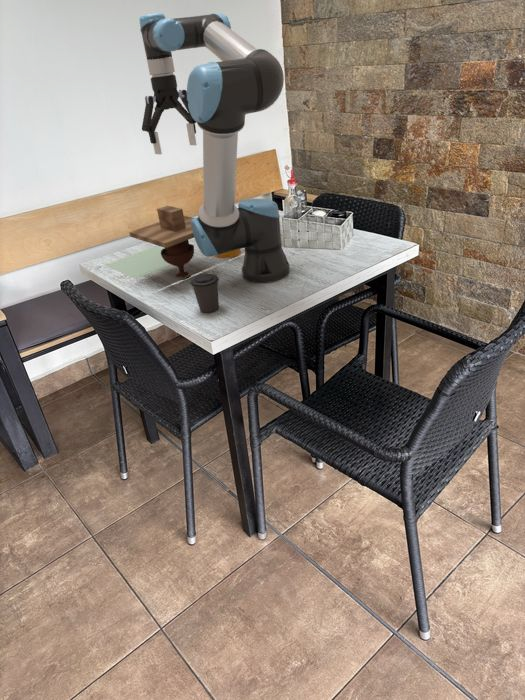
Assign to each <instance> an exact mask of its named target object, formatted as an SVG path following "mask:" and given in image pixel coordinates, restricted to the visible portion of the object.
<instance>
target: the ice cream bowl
mask: <svg viewBox="0 0 525 700" xmlns="http://www.w3.org/2000/svg"><path fill="white" fill-rule="evenodd" d="M194 254H195V245H193V244H191V243H190V242H189V240H186V241H183V242H181V243H178V244H175V245H173V246H170V247H167V248H164V247H163V249H162V250H161V256H162V258H163V259H164V260H165V261H166V262H167V263H169V264H171V265H170V266H174V267H177V268H178V272H177V274H175V277H177V278H181V279H180V281H184V280H187V279H189V278H191V277H192V275H190V272H188V271H185V265H187V264H189V262H190V261H191V260H192V259H193V257H194Z"/></svg>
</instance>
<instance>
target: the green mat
mask: <svg viewBox="0 0 525 700" xmlns="http://www.w3.org/2000/svg"><path fill="white" fill-rule="evenodd" d="M162 249H164V247H160V246H157V245H154V246H152V247H149V248H147V249H144V250H142V251H139V252H136V253H133V254H131V255H129V256H125V257H123V258H120V259H118V260H114V261H112V262H108V263H107V264H104V266H105V267H107V268H108V269H112V270H115V271H117V272H119V273H121V274H124V275H126V276H129V277H131V278H133V279H136V280H137V279H140V278H142V277H146V276H147V275H149V274H152V273H154V272H157V271H159V270H162V269H164V268H167V267H169V266H172V265H171V264H169V263H167V262H166V261H165V260H164V259H163V258H162V256H161V250H162Z"/></svg>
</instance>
